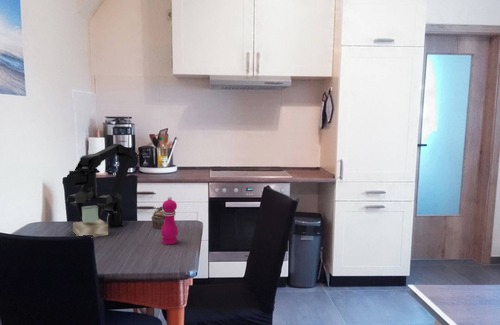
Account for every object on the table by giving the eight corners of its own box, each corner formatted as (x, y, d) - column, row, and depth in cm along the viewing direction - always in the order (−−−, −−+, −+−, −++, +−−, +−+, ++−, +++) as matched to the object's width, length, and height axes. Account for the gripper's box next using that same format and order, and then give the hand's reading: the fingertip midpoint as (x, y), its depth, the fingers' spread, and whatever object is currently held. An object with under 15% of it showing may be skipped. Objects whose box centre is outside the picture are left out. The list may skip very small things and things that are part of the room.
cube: (96, 218, 175) (95, 205, 174) (98, 220, 170) (98, 207, 169) (82, 219, 172) (81, 206, 171) (84, 222, 167) (83, 209, 166)
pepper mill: (180, 240, 165) (180, 195, 163) (175, 245, 158) (175, 198, 156) (164, 239, 166) (164, 194, 164) (158, 244, 158) (158, 197, 156)
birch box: (100, 229, 180) (99, 219, 180) (108, 235, 171) (108, 224, 170) (73, 233, 173) (72, 222, 172) (80, 240, 163) (79, 228, 163)
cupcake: (173, 224, 190) (173, 205, 189) (168, 229, 180) (168, 209, 179) (155, 223, 190) (155, 204, 189) (148, 229, 181) (148, 208, 180)
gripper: (59, 185, 163) (60, 220, 164) (99, 187, 160) (100, 223, 162) (74, 181, 174) (75, 214, 175) (112, 183, 171) (112, 216, 173)
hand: (90, 217), depth 171 cm, fingers open, 9 cm apart
